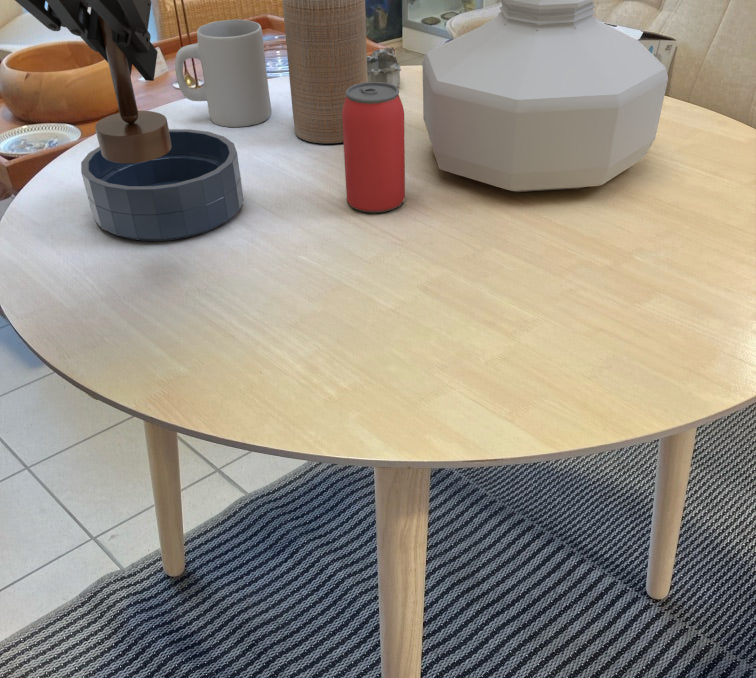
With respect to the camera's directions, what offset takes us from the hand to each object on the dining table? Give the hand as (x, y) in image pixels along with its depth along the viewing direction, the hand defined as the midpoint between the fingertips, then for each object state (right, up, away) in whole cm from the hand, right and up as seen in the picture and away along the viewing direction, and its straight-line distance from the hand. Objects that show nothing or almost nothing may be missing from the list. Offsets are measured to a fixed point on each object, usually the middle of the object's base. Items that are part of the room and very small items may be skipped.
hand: (139, 65), depth 78 cm
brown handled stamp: (-1, -7, +1) cm, 7 cm away
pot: (+40, +2, +27) cm, 49 cm away
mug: (+1, +13, +40) cm, 43 cm away
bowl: (-2, -7, +19) cm, 20 cm away
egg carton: (+20, +22, +49) cm, 57 cm away
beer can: (+21, -6, +19) cm, 29 cm away
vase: (+16, +9, +36) cm, 40 cm away
